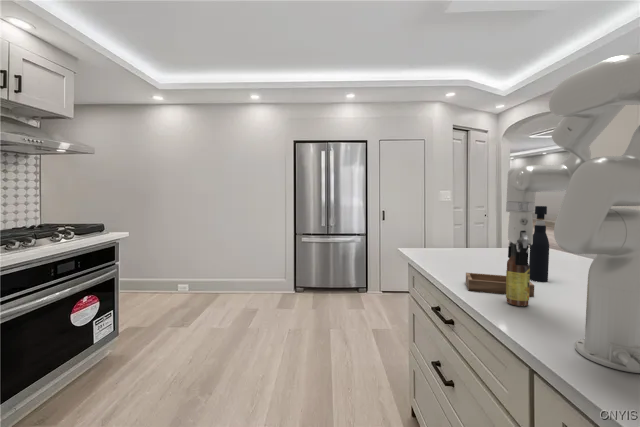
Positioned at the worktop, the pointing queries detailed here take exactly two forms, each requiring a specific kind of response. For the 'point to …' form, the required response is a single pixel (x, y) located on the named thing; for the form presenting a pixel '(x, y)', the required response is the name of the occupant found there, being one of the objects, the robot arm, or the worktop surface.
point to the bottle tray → (490, 283)
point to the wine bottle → (539, 248)
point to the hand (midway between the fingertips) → (517, 261)
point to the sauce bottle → (517, 281)
